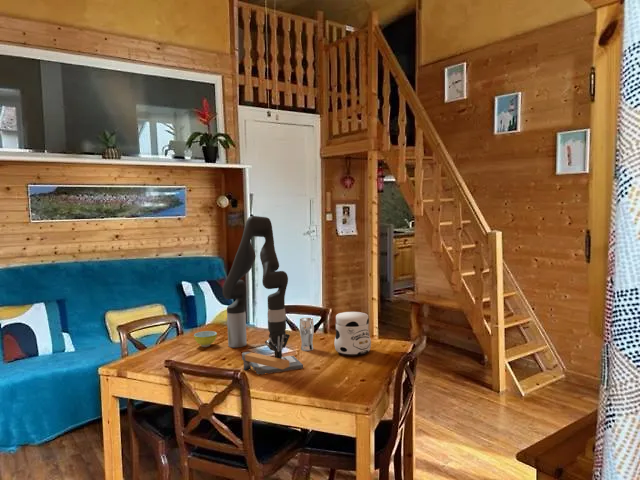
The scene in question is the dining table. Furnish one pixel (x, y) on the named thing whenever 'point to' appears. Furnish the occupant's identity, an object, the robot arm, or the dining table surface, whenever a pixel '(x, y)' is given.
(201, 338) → the bowl
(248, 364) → the post
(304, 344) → the beer glass
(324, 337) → the dining table surface
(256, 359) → the swing bar
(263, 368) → the label board
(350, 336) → the milk container
